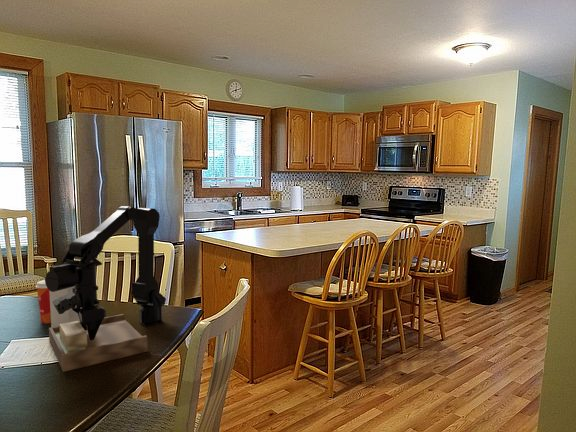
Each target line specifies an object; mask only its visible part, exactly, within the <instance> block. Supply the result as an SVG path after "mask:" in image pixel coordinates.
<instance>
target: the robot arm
mask: <svg viewBox="0 0 576 432" xmlns="http://www.w3.org/2000/svg"><path fill="white" fill-rule="evenodd" d="M160 217H161V216H160V212H159V211H158V210H157V209H156V208H150V207H138V208H137V207H133V206H129V205H121V206H120V207H118V208H117V209H116V211H114V212H113V213H112V214H111V215H110V216H109V217H108V218H107V219H105V220H104V221H103V222H101V224H99V225H98V226H97V227H96V228H95V229H93V230H92V231H90V232H88V233H86V234H84V235H81V236H80V237H79V236H78V237H77V238H76V239H73V241H71V242H70V244H69V246H68V250H67V252H66V253H65V255H64V257H63V258H62V261H61V263H60V264H59V265H52V266H51V265H50V266H49V269H48V270H49V271H47V273H46V274H45V277H44V280H45V283H46V286H47V288H48V289H49V290H50V291H51V292H55V291H59V290H63V289H66V288H70V287H73V288H72V292H71V293H69V294H66V295H64V296H62V297H60V298H58V299H56V300H54V301H53V304H54V306H55V308H56V310H57V312H58V313H59V314H63V313H65V311H67V310H69V309H72V310H73V311H75V312H76V313H78V316H79V319H80V323H81V326H82V327H83V328H84V330H87V331H88V335H89V339H90V340H94V339H95V336H96V334H97V332H98V329H99V327H100V325H101V323H102V321H103V319H104V318H105V317H107V315H106V314H107V313H106V312H107V310H106V309H105V308H104V307H103V306H101V305H100V299H98V291H99V286H98V285H97V271H96V267H97V266H101V265H103V263H102V261H99V260H98V258H97V257H98V256H99V255H100V254H101V253H102V251H103V250H104V247H105V246H104V245H105V244H106V242H107V241H109V240H110V239H111V238H112V237H113V236H114V235H115V234H116V233H117V232H118V231H119V230H121V229H122V228H123V227H124V226H125V225H127V224H128V223H129V221H132V223H133V227H134V229H135V231H136V233H137V234H138V239H137V240H138V241H137V242H138V244H137V245H138V247H137V248H138V255H137V256H138V262H137V263H138V276H137V278H136V280H135V282H134V281H133V282H132V283H131V293H130V294H131V295H132V297H133V300H135V303H136V304H137V306H140V309H139V310H138V312H139V313H138V315H139V317H138V318H139V320H138V321H139V322H140V323H141V324H142V325H143V326H144V327H149V326H154V325H158V324H163V323H164V320H163V319H162V318H163V317H162V315H163V314H162V312H163V311H162V307H163V306H165V305H166V301H167V300H166V299H167V298H166V297H165V296H164V295H163V294H162V293H160V286H159V283H158V281H157V279H156V278H155V250H154V249H155V233H156V232H157V230H158V228H159V224H160V219H161V218H160Z"/></svg>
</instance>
